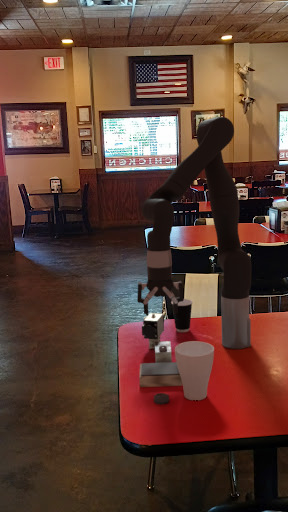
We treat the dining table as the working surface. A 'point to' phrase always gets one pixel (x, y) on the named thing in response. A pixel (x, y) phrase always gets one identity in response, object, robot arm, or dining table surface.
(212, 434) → the dining table surface
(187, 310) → the dixie cup
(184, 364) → the cup
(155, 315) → the pneumatic valve
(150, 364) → the stand
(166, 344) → the block
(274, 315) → the dining table surface
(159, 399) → the black cap
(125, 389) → the dining table surface
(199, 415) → the dining table surface
